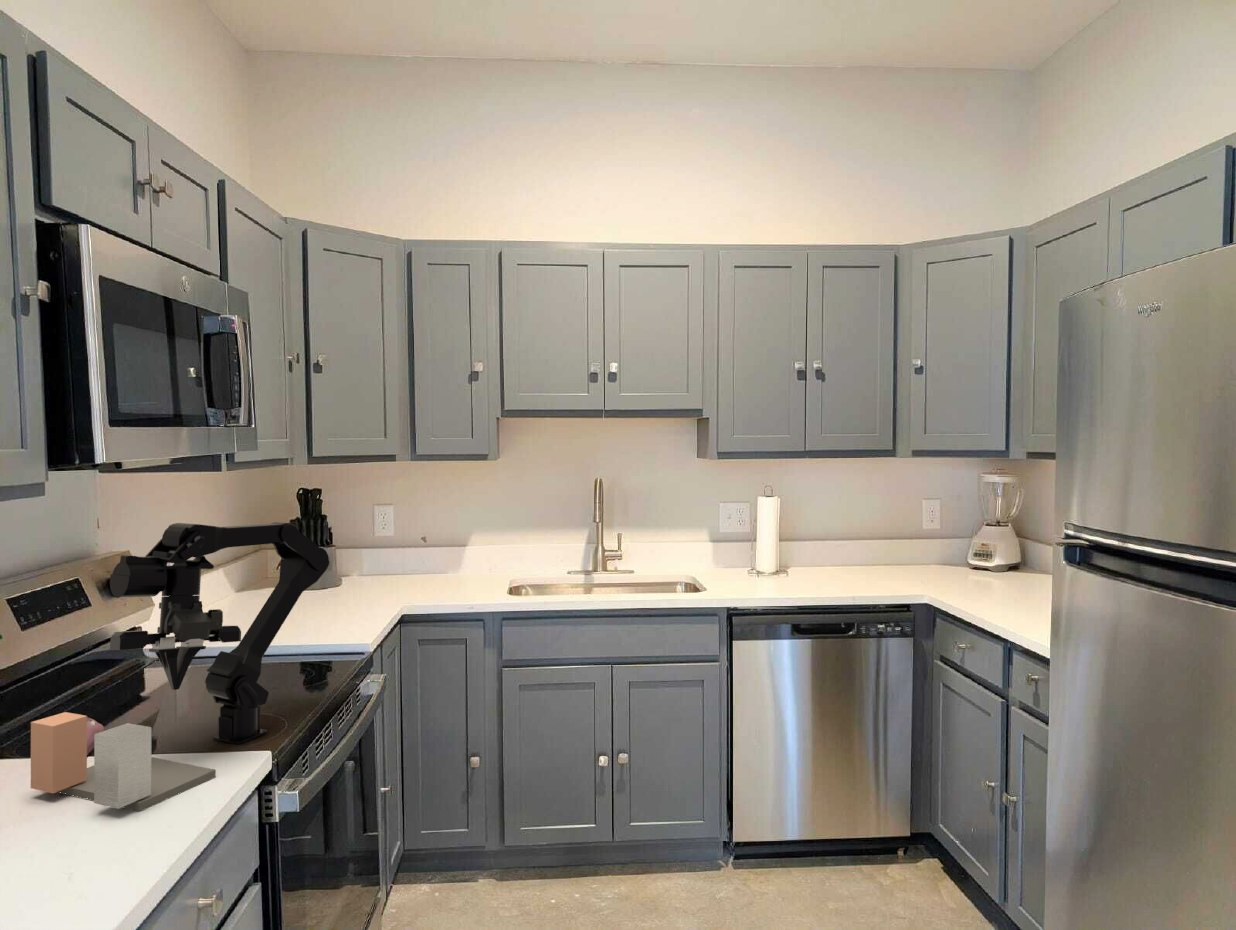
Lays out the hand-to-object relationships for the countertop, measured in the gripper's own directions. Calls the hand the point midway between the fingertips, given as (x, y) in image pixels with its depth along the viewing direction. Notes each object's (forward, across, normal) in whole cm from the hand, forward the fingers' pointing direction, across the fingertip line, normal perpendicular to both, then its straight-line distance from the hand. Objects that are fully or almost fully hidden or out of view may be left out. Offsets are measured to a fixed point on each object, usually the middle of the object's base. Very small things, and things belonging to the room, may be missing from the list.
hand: (175, 689), depth 127 cm
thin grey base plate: (+14, -6, -2) cm, 15 cm away
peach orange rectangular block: (+12, -15, +2) cm, 20 cm away
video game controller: (+11, -9, +21) cm, 25 cm away
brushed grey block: (+14, -10, -11) cm, 20 cm away
